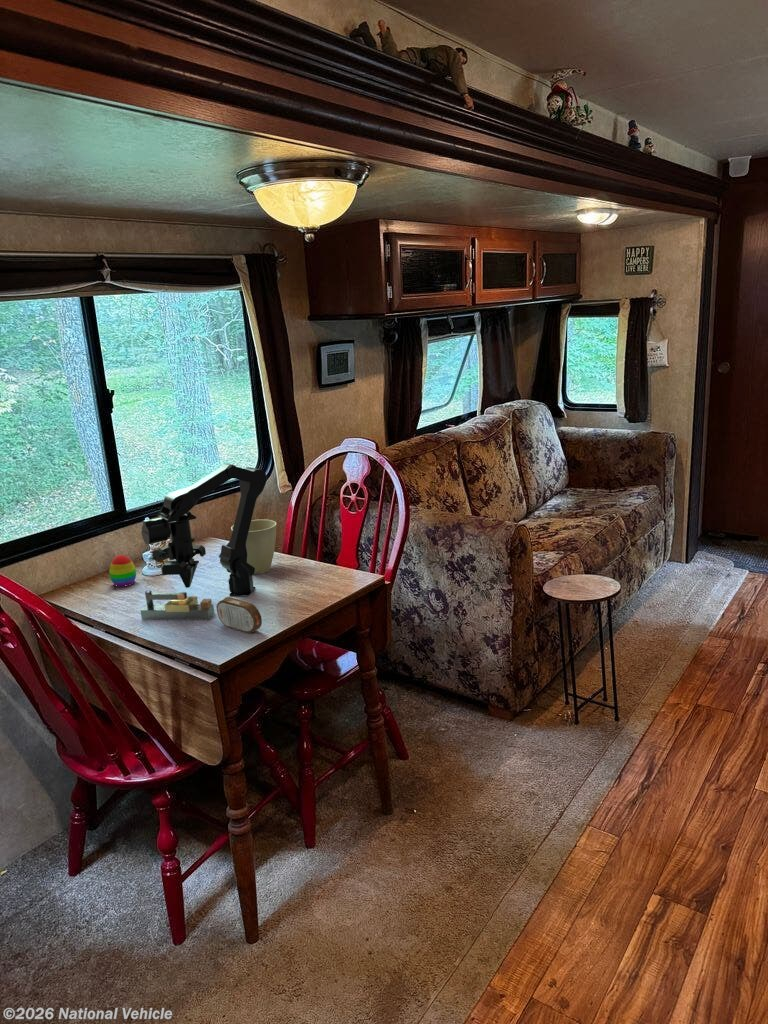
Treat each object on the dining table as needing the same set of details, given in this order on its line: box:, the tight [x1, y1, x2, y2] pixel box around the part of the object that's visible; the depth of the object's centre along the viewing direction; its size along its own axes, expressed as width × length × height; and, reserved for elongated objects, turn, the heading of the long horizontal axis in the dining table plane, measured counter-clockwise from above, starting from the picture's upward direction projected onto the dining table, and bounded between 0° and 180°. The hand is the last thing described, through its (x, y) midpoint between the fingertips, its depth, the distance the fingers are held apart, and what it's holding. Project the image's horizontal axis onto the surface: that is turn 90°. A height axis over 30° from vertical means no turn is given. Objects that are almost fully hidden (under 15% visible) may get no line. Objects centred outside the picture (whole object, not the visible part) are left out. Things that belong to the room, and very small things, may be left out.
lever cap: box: [164, 595, 199, 612], centre depth 201 cm, size 7×6×2 cm
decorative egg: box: [108, 554, 137, 587], centre depth 231 cm, size 8×8×10 cm
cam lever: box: [144, 590, 188, 608], centre depth 201 cm, size 12×2×5 cm, turn 83°
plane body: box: [140, 598, 215, 621], centre depth 202 cm, size 20×4×5 cm, turn 83°
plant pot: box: [230, 519, 278, 575], centre depth 236 cm, size 15×15×16 cm
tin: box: [216, 596, 263, 634], centre depth 191 cm, size 15×3×8 cm, turn 55°
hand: (188, 587), depth 207 cm, fingers closed
